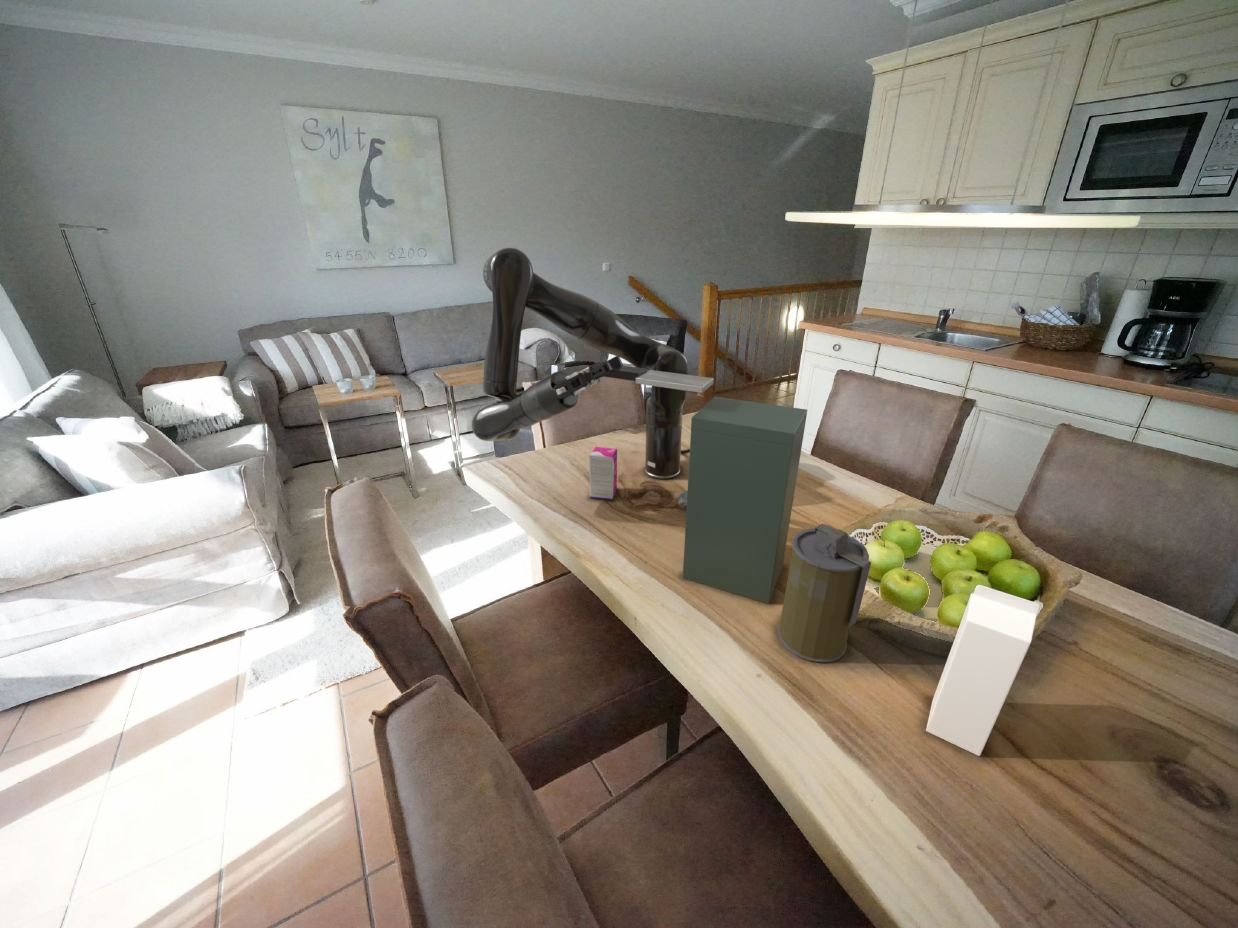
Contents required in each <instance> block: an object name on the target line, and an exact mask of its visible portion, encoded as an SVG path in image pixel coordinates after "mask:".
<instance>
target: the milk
mask: <svg viewBox="0 0 1238 928" xmlns="http://www.w3.org/2000/svg"><path fill="white" fill-rule="evenodd" d="M1040 608H1041V604H1040V603H1038V602H1035V601H1032V600H1029V599H1026V598H1022V597H1019V596H1016V595H1014V594H1010V593H1007V592H1004V591H1002V590H1001V591H1000V590H998V589H994V588H991V587H988V586H985V585H982V584H977V585H976V587H975V589H974V590H973V592H971V593H970V596H969V599H968V601H967V604H966V606H965V610H964V612H963V615H962V618H961V621H960V623H959V627H958V629H957V632H956V635H955V637H954V640H953V643H952V645H951V648H950V651H949V654H948V656H947V659H946V662H945V665H944V668H943V669H942V673H941V675H940V678H939V681H938V683H937V684H938V685H937V687H936V690H935V692H934V695H933V698H932V700H931V701H932V702H931V706H930V709H929V710H930V711H929V715H928V720H927V724H926V729H925V731H926V732H927V733H929V734H931V735H933V736H935V737H937V738H939V739H942V740H943V741H946V742H948V743H950V744H952V745H955V746H957V747H958V748H961V749H963V750H965V751H967V752H970V753H972V754H973V755H975V756H978V757H980V756H981V755H982V752H983V751H984V748H985V746H986V744H987V742H988V739H989V737H990V735H991V733H992V731H993V728H994V727H995V724H996V721H997V719H998V717H999V715H1000V712H1001V710H1002V708H1003V706H1004V704H1005V702H1006V699H1007V697H1008V695H1009V693H1010V690H1011V688H1012V685H1013V683H1014V682H1015V680H1016V677H1017V675H1018V672H1019V670H1020V669H1021V666H1022V664H1023V662H1024V659H1025V657H1026V655H1027V653H1028V650H1029V648H1030V646H1031V643H1032V640H1033V635H1034V630H1035V625H1036V621H1037V617H1038V614H1039V611H1040Z"/></svg>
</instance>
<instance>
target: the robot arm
mask: <svg viewBox="0 0 1238 928" xmlns="http://www.w3.org/2000/svg"><path fill="white" fill-rule="evenodd" d="M533 269H534V268H533V265H532V261H531V260H530V258H529V257H528V256H527V254H526V253H524V252H523V251H522V250H520V249H519V248H515V247H504V248H500V249H498V250H497V251H495V252H494V253H493V254H492V255H491V256H489V257H488V258H487V259H486V261H485V263H484V264H483V267H482V278H483V281H484V284H485V285H486V287H487V288H488V290H489V291H490V292H491V293H492V315H491V324H490V330H489V335H488V338H487V339H488V340H487V345H486V350H485V356H484V365H483V377H482V390H483V391H482V392H483V393H484V394H485V395H486V396H488V397H491V398H494V399H495V403H492V404H489V405H486V406H484V407H482V408H480V409H479V410H478V411H477V412H476V413H475V414H474V415H473V418H472V420H471V430H472V433H473V434H474V436H475V437H476V438H478V439H479V440H481V441H483V442H501V441H502V442H503V441H511V440H514V439H515V438H517V436H518V434H519V433H520V430H522V429H527V428H531V427H532V426H534V425H536V424H539V423H540V422H543V421H546V420H550V419H552V418H553V417H556V416H558V415H560V414H562V413H564V412H566V411H568V410H571V409H573V408H574V407H575V406H576V405H577V403H578V399H579V395H580V394H582V393H584V392H586V391H587V390H589V388H590V387H593V386H595V385H596V384H598V383H600V382H601V379H602V378H604V377H603V376H605V375H607V374H609V373H611V372H612V368H611V365H610V364H615V365H622V366H624V363H623V361H622V360H624V361H626V362H628V363H629V364H631V365H632V366H633V367H638V368H646V369H647V371H649V370H654V371H662V372H670V373H677V374H685V375H689V362H688V360H687V357H686V356H685V355H684V354H683V353H682V352H681V351H679V350H677V349H676V348H674V347H672V346H670V345H668V344H665V343H662V342H660V341H657V340H655V339H653V338H650V337H649V336H646V335H644V334H643V333H641V332H639V331H637V330H636V329H634V328H633V327H632V326H631V325H630V324H629V323H627V322H626V321H625V320H624V319H623V318H622V317H620V315H618V314H617V313H615V312H614V311H612V310H611V309H610V308H608V307H606V306H604V305H603V304H601V303H599V302H598V301H596V300H594V299H592V298H590V297H588V296H586V295H584V294H581V293H579V292H576V291H572V290H570V289H567V288H564V287H561V286H558V285H555V284H554V283H551V281H550V282H549V281H548V280H546V279H545V278H543V277H541V276H540V275H539V274H537V273H536V272H534V270H533ZM526 310H529V311H531V312H533V313H535V314H537V315H539V316H540V317H542V318H543V319H544V320H546V321H548V322H550V323H551V324H553V326H555V327H557V328H559V329H560V330H562V331H563V332H565V333H567V334H568V335H570V336H572V337H573V338H575V339H577V340H578V341H581V342H582V343H584V344H586V345H587V346H589V347H592V348H594V349H596V350H598V351H601V352H603V353H606V354H609V355H612V356H614V357H611V358H610V359H608V360H604V361H602V362H600V363H601V364H599V365H597V366H595V367H593V368H591V370H590V369H589V366H588V367H586V368H584V369H581V370H577V371H575V372H573V373H570V374H569V375H568V374H566V373H565V372H562V371H555V372H553V373H551V374H549V375H547V376H546V377H543V378H541V379H540V380H538V381H537V382H535V383H533V384H531V385H530V386H528V387H527V388H526V389H525V390H523V391H521V392H519V393H517V387H518V374H519V361H520V348H521V347H520V346H521V337H522V330H523V329H522V328H523V321H524V318H525V317H524V316H525V311H526ZM687 392H688V391H685V390H678V389H671V388H664V387H657V386H651V393H650V394H651V395H650V397H648V398H647V399H646V402H645V412H646V413H645V457H644V458H645V459H644V462H645V463H644V464H645V465H644V472H645V474H646V475H647V476H649V477H651V478H654V479H658V480H669V479H673V478H676V477H678V476H679V475H680V473H681V454H686V453H690V448H688V449H682V435H683V434H682V430H683V413H684V412H683V410H684V404H685V403H686V400H687V394H688V393H687Z"/></svg>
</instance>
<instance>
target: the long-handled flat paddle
mask: <svg viewBox="0 0 1238 928" xmlns="http://www.w3.org/2000/svg"><path fill="white" fill-rule="evenodd" d="M601 363H602V362H596V363H594V364H591V365H589V366H588V367H589V369H590V370H591V368H593V367H595V366H597V365H599V364H601ZM610 365H611V368H612V372H611V373H609V374H607V375H605V376H603V377H602V378H610V379H617V380H618V379H619V380H624V381H630V382H635V384H637V385H644V386H651V387H652V386H657V387H664V388H671V389H678V390H685V391H687V392H691V393H698V394H699V393H700V394H702V393H704V392H705V391H707V390H708V389H709V388H710V387H711V386H712V385H714V384H715V383H714V381H715V379H714V377H706V376H699V375H698V376H697V375H691V374H688V375H685V374H677V373H670V372H662V371H654V370H649V371H647V369H646V368H638V367H635V366H629V365H623V366H622V365H615V364H610Z"/></svg>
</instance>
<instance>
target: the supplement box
mask: <svg viewBox="0 0 1238 928" xmlns="http://www.w3.org/2000/svg"><path fill="white" fill-rule="evenodd" d="M588 460H589V463H588V465H589V499H592V500H602V501H613V499H614V496H615V494H616V492H617V490H618V489H617V488H618V487H617V486H618V448H614V447H602V446H594V447H593V449H592V451H591V452H590V454H589V458H588Z"/></svg>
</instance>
